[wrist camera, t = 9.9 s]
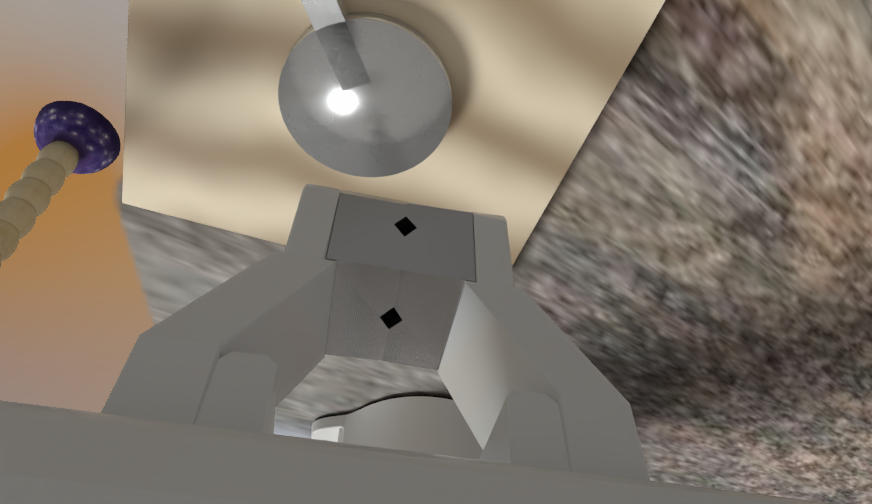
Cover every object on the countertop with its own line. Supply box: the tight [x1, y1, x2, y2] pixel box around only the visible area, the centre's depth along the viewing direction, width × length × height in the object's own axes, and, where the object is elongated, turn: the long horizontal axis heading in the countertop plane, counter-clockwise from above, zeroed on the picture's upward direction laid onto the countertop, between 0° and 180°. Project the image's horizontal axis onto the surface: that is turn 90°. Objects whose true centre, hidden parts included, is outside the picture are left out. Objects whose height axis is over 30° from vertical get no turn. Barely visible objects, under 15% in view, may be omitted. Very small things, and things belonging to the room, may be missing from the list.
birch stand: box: [122, 0, 665, 265], centre depth 32 cm, size 22×22×2 cm
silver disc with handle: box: [278, 0, 452, 177], centre depth 27 cm, size 14×8×5 cm, turn 18°
